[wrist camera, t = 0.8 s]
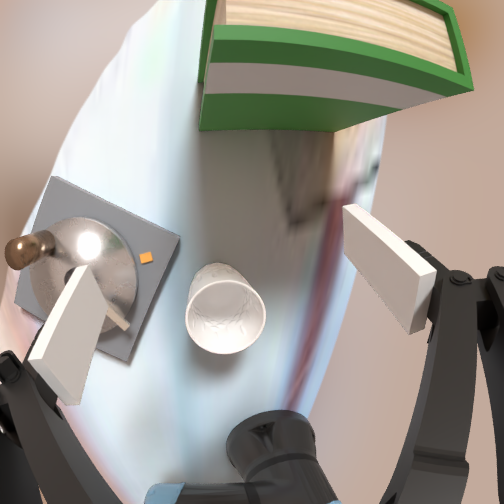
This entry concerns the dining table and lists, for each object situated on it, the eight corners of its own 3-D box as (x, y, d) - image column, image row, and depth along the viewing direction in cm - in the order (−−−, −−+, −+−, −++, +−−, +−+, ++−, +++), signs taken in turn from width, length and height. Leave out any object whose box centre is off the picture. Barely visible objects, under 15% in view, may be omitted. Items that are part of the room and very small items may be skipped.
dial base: (129, 354, 38) (126, 363, 36) (20, 298, 34) (13, 303, 32) (180, 236, 37) (179, 239, 35) (57, 176, 32) (50, 175, 30)
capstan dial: (168, 281, 35) (161, 310, 27) (99, 352, 35) (80, 392, 27) (78, 188, 31) (45, 188, 22) (17, 270, 31) (-20, 290, 22)
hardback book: (199, 131, 35) (214, 39, 12) (198, 76, 33) (214, -55, 10) (334, 132, 38) (474, 90, 15) (330, 81, 37) (452, 7, 13)
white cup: (240, 251, 39) (257, 271, 29) (253, 308, 41) (272, 343, 31) (179, 266, 38) (175, 291, 28) (195, 322, 39) (197, 362, 30)
